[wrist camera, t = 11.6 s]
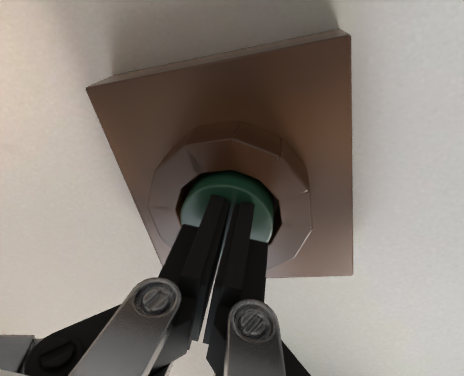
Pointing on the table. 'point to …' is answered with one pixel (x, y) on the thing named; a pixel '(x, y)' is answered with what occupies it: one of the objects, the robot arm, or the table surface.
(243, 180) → the button
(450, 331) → the table surface
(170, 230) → the block
